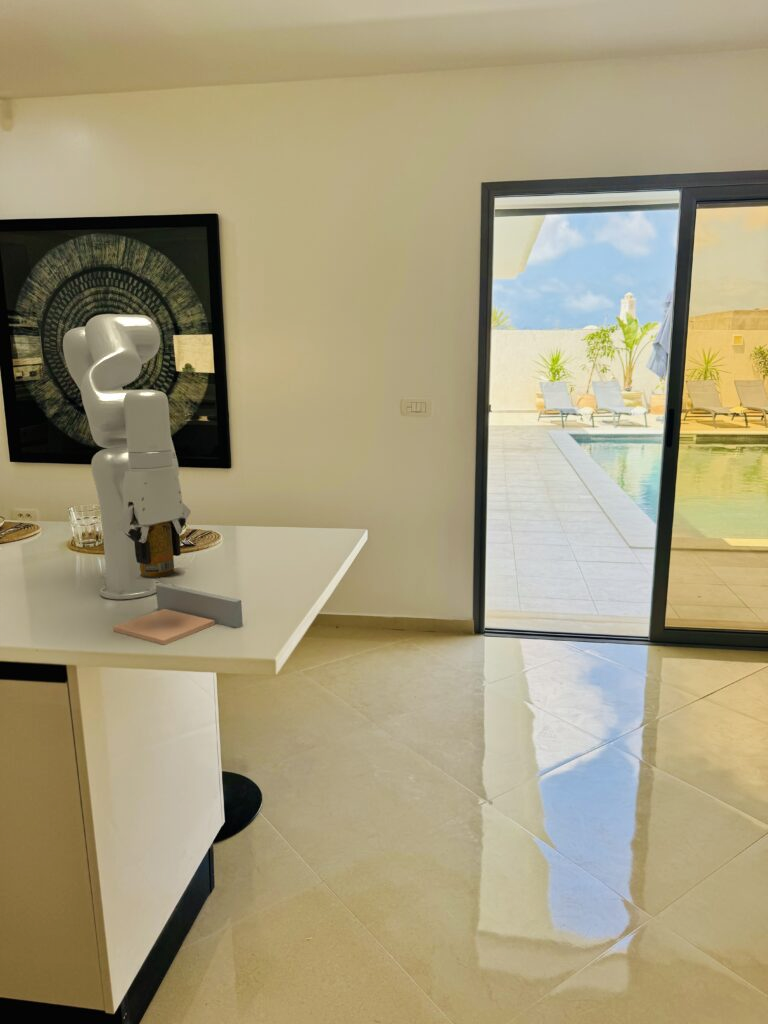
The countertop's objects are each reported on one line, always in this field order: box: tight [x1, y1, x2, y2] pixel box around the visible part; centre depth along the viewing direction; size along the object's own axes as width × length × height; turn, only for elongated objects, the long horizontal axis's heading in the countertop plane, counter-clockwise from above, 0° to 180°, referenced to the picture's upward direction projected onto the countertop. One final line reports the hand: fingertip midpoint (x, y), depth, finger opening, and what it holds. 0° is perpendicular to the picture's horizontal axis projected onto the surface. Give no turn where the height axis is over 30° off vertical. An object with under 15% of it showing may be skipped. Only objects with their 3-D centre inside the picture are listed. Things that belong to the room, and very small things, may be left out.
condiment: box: [135, 522, 190, 580], centre depth 132 cm, size 7×8×12 cm
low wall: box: [156, 583, 244, 629], centre depth 140 cm, size 22×2×5 cm, turn 57°
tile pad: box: [112, 609, 216, 646], centre depth 134 cm, size 14×12×1 cm
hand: (159, 558), depth 132 cm, fingers closed on condiment, 6 cm apart
